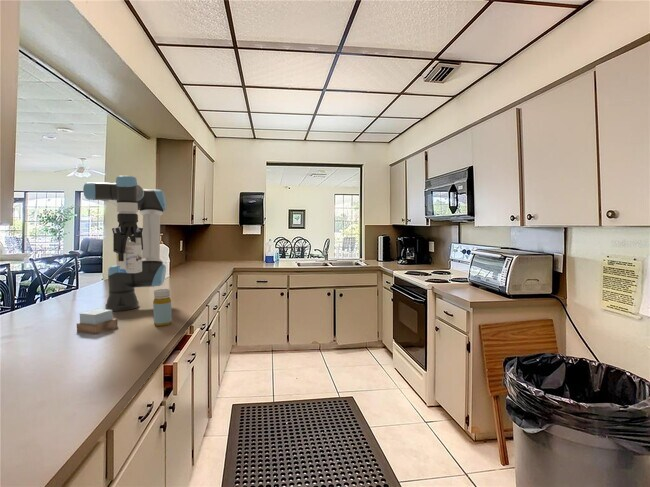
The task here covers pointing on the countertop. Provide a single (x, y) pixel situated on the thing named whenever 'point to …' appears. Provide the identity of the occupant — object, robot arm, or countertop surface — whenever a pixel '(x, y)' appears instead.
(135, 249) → the ink box
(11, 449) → the countertop surface
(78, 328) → the walnut block
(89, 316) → the light grey block
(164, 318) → the bottle
